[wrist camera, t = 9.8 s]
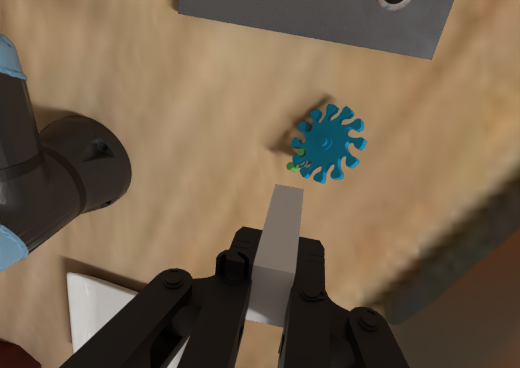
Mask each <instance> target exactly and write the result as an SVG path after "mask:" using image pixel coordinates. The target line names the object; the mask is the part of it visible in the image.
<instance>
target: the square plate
mask: <svg viewBox="0 0 520 368" xmlns="http://www.w3.org/2000/svg"><path fill="white" fill-rule="evenodd" d="M67 289H68V301H69V311H70V322H71V333H72V344H73V354H74V353H75V352H76V351H77V350H78V349H79V348H81V347H82V346H83V345H84V344H85V343H86V342H87V341H88V340H89V339H90V338H91V337H92V336H93V335H94V334H95V333H96V332H98V331H99V330H100V329H101V328H102V327H103V326H104V325H105V324H106V323H107V322H108V321H109V320H110V319H111V318H112V317H114V316H115V315H116V314H117V313H118V312H119V311H120V310H121V309H122V308H123V307H124V306H125V305H126V304H127V303H128V302H129V301H131V300H132V299H133V298H134V297H135V296H136V295H137V294H138V293H139V292H136V291H133V290H130V289H127V288H125V287H122V286H119V285H116V284H113V283H110V282H108V281H105V280H102V279H99V278H95V277H92V276H88V275H84V274H78V273H73V272H68V273H67ZM189 337H190V336H189ZM188 339H189V338H188ZM187 342H188V340H187V341H186V342H185V344H184V345H183V347H182V348H181V349H180V351H179V352H178V353H177V355H176V356H175V357H174V359H173V360H172V361H171V363H170V364H169V366H168V367H167V368H177V366H178V363H179V361H180V359H181V356H182V354H183V351H184V349H185V346H186V344H187Z"/></svg>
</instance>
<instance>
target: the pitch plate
mask: <svg viewBox="0 0 520 368" xmlns="http://www.w3.org/2000/svg"><path fill="white" fill-rule="evenodd" d="M453 2H454V0H178V14H183V15H188V16H194V17H199V18H205V19H210V20H216V21H221V22H227V23H232V24H238V25H243V26H249V27H254V28H260V29H265V30H271V31H276V32H282V33H287V34H293V35H298V36H304V37H309V38H315V39H320V40H326V41H331V42H337V43H342V44H348V45H353V46H359V47H364V48H370V49H375V50H381V51H386V52H392V53H397V54H403V55H408V56H414V57H419V58H425V59H430V60H432V57H433V55H434V52H435V49H436V47H437V44H438V41H439V39H440V36H441V33H442V31H443V28H444V26H445V23H446V20H447V18H448V15H449V12H450V10H451V7H452V4H453Z"/></svg>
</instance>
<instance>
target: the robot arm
mask: <svg viewBox="0 0 520 368" xmlns="http://www.w3.org/2000/svg"><path fill="white" fill-rule="evenodd" d="M26 81H27V77H26V76H25V75H24V74H23V71H22V67H21V64H20V61H19V58H18V54H17V51H16V48H15V46H14V44H13V43H12V42H11V41H10V40H9V39H8V38H7V37H6V36H4V35H3V34H1V33H0V272H2V271H3V270H5V269H7V268H8V267H10V266H11V265H13V264H14V263H16V262H17V261H19V260H22V259H24V258H25V257H26V256H28V254H29V253H31V252H32V251H33V250H35V249H36V248H37V247H39V246H40V245H41V244H42V243H44V242H45V241H46V240H48V239H49V238H50V237H51V236H53V235H54V234H55V233H57V232H58V231H59V230H60V229H62V228H63V227H64V226H66V225H67V224H68V223H69V222H71V221H72V220H73V219H74V218H76V217H77V216H79V215H80V214H84V213H87V212H90V211H94V210H97V209H101V208H104V207H107V206H109V205H111V204H113V203H114V202H116V201H117V200H118V199H119V198H121V197H122V196H123V195H124V194H125V193H126V191H127V190H128V188H129V185H130V182H131V174H132V172H131V164H130V161H129V157H128V155H127V153H126V151H125V149H124V147H123V145H122V144H121V142H120V141H119V140H118V139H117V137H116V136H115V135H114V134H113V133H112V132H111V131H110V130H108V129H107V128H106V127H104V126H103V125H101V124H100V123H98V122H96V121H94V120H92V119H89V118H85V117H80V116H71V117H66V118H63V119H60V120H57V121H54V122H52V123H50V124H49V125H47V126H46V127H45V128H44V129H43V130H42V131H41V132H40V134H39V133H38V129H37V125H36V121H35V117H34V113H33V108H32V104H31V100H30V96H29V92H28V88H27V84H26ZM303 192H304V189H300V188H294V187H289V186H283V185H278V184H276V185H275V188H274V192H273V195H272V199H271V203H270V206H269V210H268V213H267V217H266V221H265V224H264V228H263V230H259V229H254V228H249V227H244V226H243V227H242V228H241V229H239V230H238V231H237V232H236V234H235V236H234V239H233V241H232V244H231V246H230V249H229V250H225V251H223V252H221V253H219V255H218V256H217V257H216V271H215V275H213V276H211V277H208V278H198V279H192V277H191V275H190V273H188V272H187V271H185V270H182V269H178V268H176V269H168V270H165V271H163V272H161V273H160V274H158V275H157V276H156V277H155V278H154V279H153V280H152V281H151V282H150V283H149V284H148V285H146V286H145V287H144V288H143V289H142V290H141V291H140V292H139V293H138V294H137V295H136V296H135V297H134V298H133V299H132V300H131V301H129V302H128V303H127V304H126V305H125V306H124V307H123V308H122V309H121V310H120V311H119V312H118V313H117V314H116V315H115V316H114V317H112V318H111V319H110V320H109V321H108V322H107V323H106V324H105V325H104V326H103V327H102V328H101V329H100V330H99V331H98V332H96V333H95V334H94V335H93V336H92V337H91V338H90V339H89V340H88V341H87V342H86V343H85V344H84V345H83V346H82V347H81V348H79V349H78V350H77V351H76V352H75V353H74V354H73V355H72V356H71V357H70V358H69V359H68V360H67V361H66V362H65V363H64V364H62V365H61V366H60V367H59V368H167V367H168V366H169V364H170V363H171V361H172V360H173V359H174V357H175V356H176V355H177V353H178V352H179V351H180V349H181V348H182V347H183V345H184V344H185V342H186V341H187V340H188V342H187V344H186V346H185V349H184V351H183V354H182V356H181V359H180V361H179V363H178V366H177V368H234V367H235V363H236V359H237V355H238V351H239V347H240V343H241V339H242V335H243V330H244V323H245V319H247V320H252V321H256V322H261V323H265V324H270V325H274V326H279V327H283V333H282V338H281V343H280V347H279V352H278V353H279V360H278V368H330V367H331V368H409V366H408V364H407V362H406V360H405V358H404V356H403V354H402V352H401V350H400V348H399V346H398V344H397V342H396V340H395V337H394V335H393V333H392V331H391V330H390V327H389V325H388V323H387V322H386V320H385V319H384V318H383V316H381V315H380V314H379V313H378V312H377V311H374V310H372V309H370V308H367V307H355V308H354V309H352V310H351V311H348V310H346V309H344V308H342V307H340V306H338V305H336V304H335V303H334V302H333V301H331V299H330V298H329V297H328V295H327V292H326V290H325V265H324V263H325V259H324V247H323V245H322V244H321V242H320V241H319V240H314V239H309V238H304V237H299V232H300V222H301V212H302V202H303ZM189 336H190V337H189ZM188 338H189V339H188Z"/></svg>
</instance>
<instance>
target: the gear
mask: <svg viewBox="0 0 520 368" xmlns="http://www.w3.org/2000/svg"><path fill="white" fill-rule="evenodd" d="M338 110H339V108H338V107H336V106H335V105H333V104H328V105H327V107H326V115H325V117H324V119H323V120H322V122H321V123H319V120H320V118H321V117H322V112H321V111H320V110H314V111H311V113H310V116H311V118H312V121H313V125H312V130H311V131H310V132H308V130H309V125H308V124H307V123H306V122H304V121H303V122H301V123H300V124H299V125H298V126H297V128H298V130H299V131H301V132H303V133H304V135H305V137H306V142H305V143H304V144H303V143H302V141H301V140H300V139H298V138H294V139H293V141H292V143H291V146H292V147H294V148H296V149H299V148H300V149H299V150H298V152H297V153H298V154H294V155H293V158H292V160H293V163H292V162H289V163H288V164H287V169H288V170H291V171H293V172H296V171H297V170H298V168H301V169H300V173H301V175H302V176H303V177H304V178H309V177H310V176H311V174H312V172H313V171H314V170H315V169H316V168H318V167H320V166H321V167H322V169H321V171H320V172H318V173H317V174H315V175H314V178H313V179H314V180H315V181H317V182H320V183H323V184H324V183H325V182H326V174H327V171H328V170H329V168H330V167H331V165H333V164H334V165H335V167H334V169H333V171H332V172H331V178H332V179H334V180H339V179H343V177H344V174H343V172H342V170H341V159H342V157H345V156H346V165H347V166H348V167H350V168H354V167H356V166H357V165H358V164H359V160H358V159H357V158H355V157H353V156H352V155H351V154H350V152H349V150H348V146H349V144H350V143H353V144H354V146H355V147H356V148H357V149H359V150H363V149H364V148H365V146H366V143H367V141H366V140H365V139H363V138H361V137H359V138H351V137H349V136H348V132H349V131H350V130H351V129H354V130H356V131H358V132H361V131H363V130H364V123H363V121H362V120H361V119H356V120H354V121H353V122H352V123H350V124H347V125H341V123H342V121H343V120H344V119H351V118H352V117H353V116H354V113H353V111H352V110H351V109H350V108H348V107H347V106H346V107H344V108H343V110H342V112H341V114H340V115H339V116H338V117H337V118H335V119H334V120H332V121H331V117H332V116H333V115H335V114H337V112H338Z"/></svg>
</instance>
